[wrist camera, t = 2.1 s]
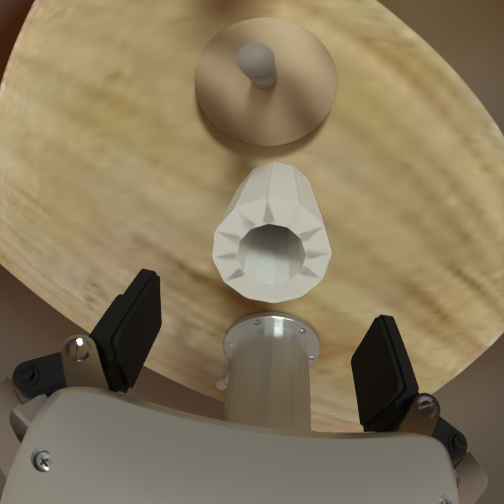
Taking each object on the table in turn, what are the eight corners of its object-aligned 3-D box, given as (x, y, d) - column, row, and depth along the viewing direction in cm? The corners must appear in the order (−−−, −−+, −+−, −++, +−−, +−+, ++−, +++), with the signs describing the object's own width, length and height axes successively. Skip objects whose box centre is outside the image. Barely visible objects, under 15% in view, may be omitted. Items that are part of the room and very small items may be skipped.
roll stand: (273, 170, 25) (268, 208, 16) (174, 93, 22) (113, 89, 13) (360, 80, 20) (408, 65, 11) (257, 1, 17) (241, -54, 8)
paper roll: (278, 245, 29) (275, 318, 19) (224, 201, 27) (191, 258, 17) (327, 197, 26) (352, 253, 16) (272, 147, 24) (265, 173, 14)
